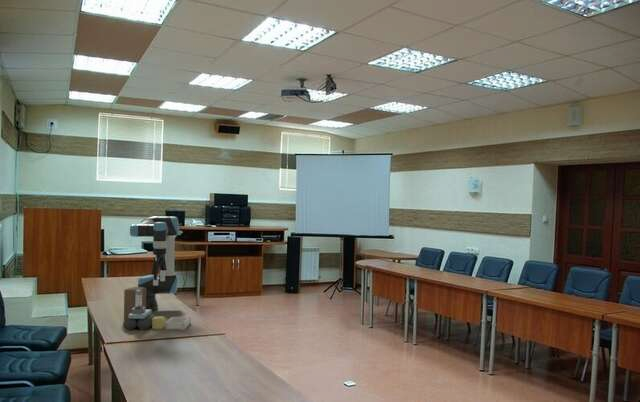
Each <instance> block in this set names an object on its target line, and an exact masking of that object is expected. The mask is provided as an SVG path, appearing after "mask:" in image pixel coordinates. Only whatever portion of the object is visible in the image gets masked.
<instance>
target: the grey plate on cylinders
mask: <svg viewBox="0 0 640 402" xmlns="http://www.w3.org/2000/svg"><path fill="white" fill-rule="evenodd" d="M152 312H153V311H152V310H149V309H145V307H142V309H135V307H134V308H132V313H131V314H129V315H128V318H127V319H126V320H125V321H124V320H123V327H124V328H125V329H126V330H128V331H131V330H134V329H135V328H137V327H138V329H139V330H141V331H145V330H148V329H149V328H150V327H152V318H154V317H156V315H155V314H154V313H152Z"/></svg>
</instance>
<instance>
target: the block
mask: <svg viewBox="0 0 640 402" xmlns="http://www.w3.org/2000/svg"><path fill="white" fill-rule="evenodd" d="M136 290H142V307H145V309H146V288H143V287H138V286H132V287H129V288H126V289H124V291H123V295H124V297H123V298H124V299H123V322H124V321H125V320H126V319H127V318H128V315H129V314H131V313H132V308H134V307H135V304H136Z"/></svg>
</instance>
